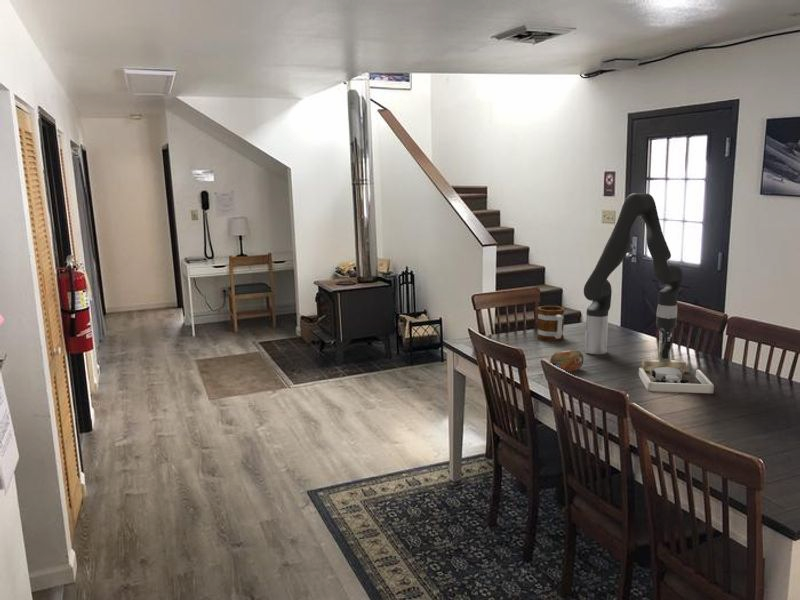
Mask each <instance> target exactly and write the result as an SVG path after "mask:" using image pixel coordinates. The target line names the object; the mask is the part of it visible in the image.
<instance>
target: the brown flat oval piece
mask: <svg viewBox="0 0 800 600" xmlns="http://www.w3.org/2000/svg"><path fill="white" fill-rule="evenodd" d="M549 359H550V360H549V364H550V363H552V364H553V365H555V366H557V367H559V368H561V369H563V370H565V371H567V372H566V373H569V372H574V371H578V370H580V369H581V367H582V366H583V364H584V355H583V353H582V352H581V351H579V350H577V349H576V350H575V349H568V350H563V351H558V352H555V353H554V354H552V355H551V357H550V358H549Z"/></svg>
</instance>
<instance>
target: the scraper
mask: <svg viewBox="0 0 800 600" xmlns="http://www.w3.org/2000/svg"><path fill="white" fill-rule="evenodd" d="M666 346H668V345H666ZM662 347H663V344H662V343H661V341H659V340H658V354H657V359H648V358H647V359H645V358H643V359H642V361H641V368H643V370H644V371H645V372H650V371H651V372H652V370H654V369H655V368H660V367H669V368H676V369H679V370H680V371H681V369H682V371H683V373H686V366H687V365H686V364H687V362H686V361H685V360H678V359H677V360H675V359H671V351H672V350H671V349H672V348H671V349H669V353H668V358H667V359H663V358H662V350H663V349H662ZM649 368H650V370H649ZM682 371H681V372H682Z"/></svg>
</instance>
